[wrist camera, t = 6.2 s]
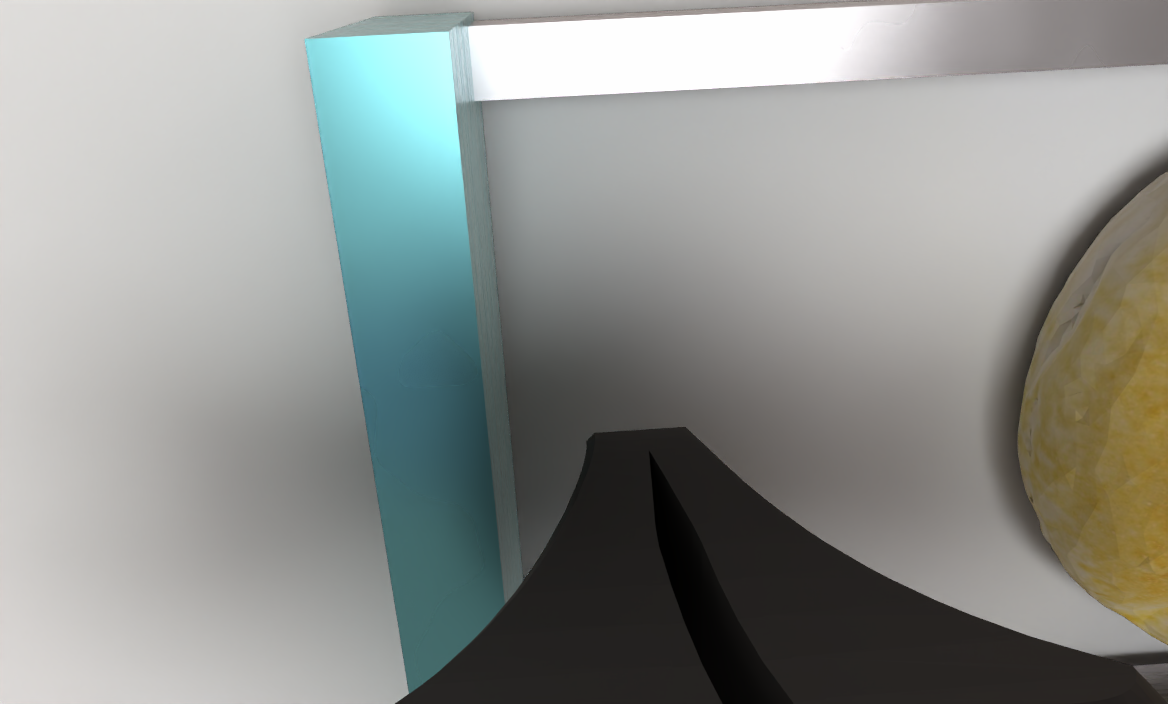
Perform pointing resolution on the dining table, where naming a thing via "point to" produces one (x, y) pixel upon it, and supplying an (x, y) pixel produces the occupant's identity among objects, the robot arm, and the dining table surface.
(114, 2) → the dining table surface
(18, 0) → the dining table surface
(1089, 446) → the bread roll
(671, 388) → the dining table surface
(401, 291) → the drawer
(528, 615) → the robot arm
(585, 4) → the dining table surface
